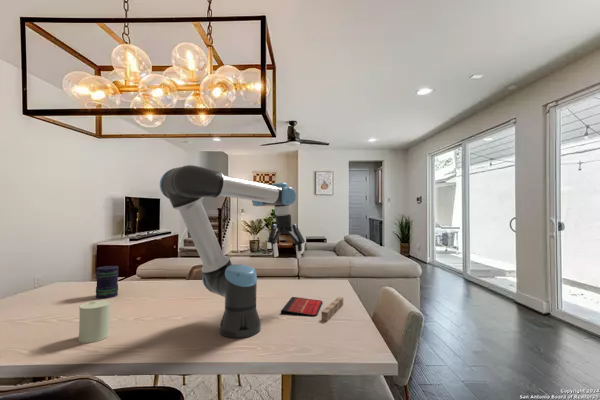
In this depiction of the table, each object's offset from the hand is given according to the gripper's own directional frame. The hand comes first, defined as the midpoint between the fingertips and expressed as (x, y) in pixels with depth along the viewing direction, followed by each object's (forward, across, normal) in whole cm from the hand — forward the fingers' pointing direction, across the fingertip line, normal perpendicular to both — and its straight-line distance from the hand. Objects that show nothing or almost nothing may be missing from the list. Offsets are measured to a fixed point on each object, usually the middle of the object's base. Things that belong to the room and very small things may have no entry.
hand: (287, 257), depth 148 cm
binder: (+22, -10, +6) cm, 25 cm away
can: (+11, +36, +72) cm, 81 cm away
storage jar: (+13, +86, +44) cm, 97 cm away
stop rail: (+22, -25, +4) cm, 33 cm away
